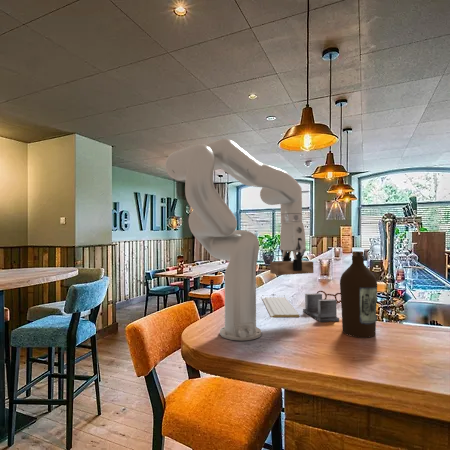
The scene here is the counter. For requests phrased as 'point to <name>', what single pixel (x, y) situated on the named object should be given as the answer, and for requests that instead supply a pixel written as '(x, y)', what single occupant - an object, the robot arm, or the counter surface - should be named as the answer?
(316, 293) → the glasses
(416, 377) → the counter surface
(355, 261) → the olive oil
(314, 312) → the grey flat-based fixture
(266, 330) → the counter surface
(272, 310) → the baseboard molding
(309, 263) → the shelf board
